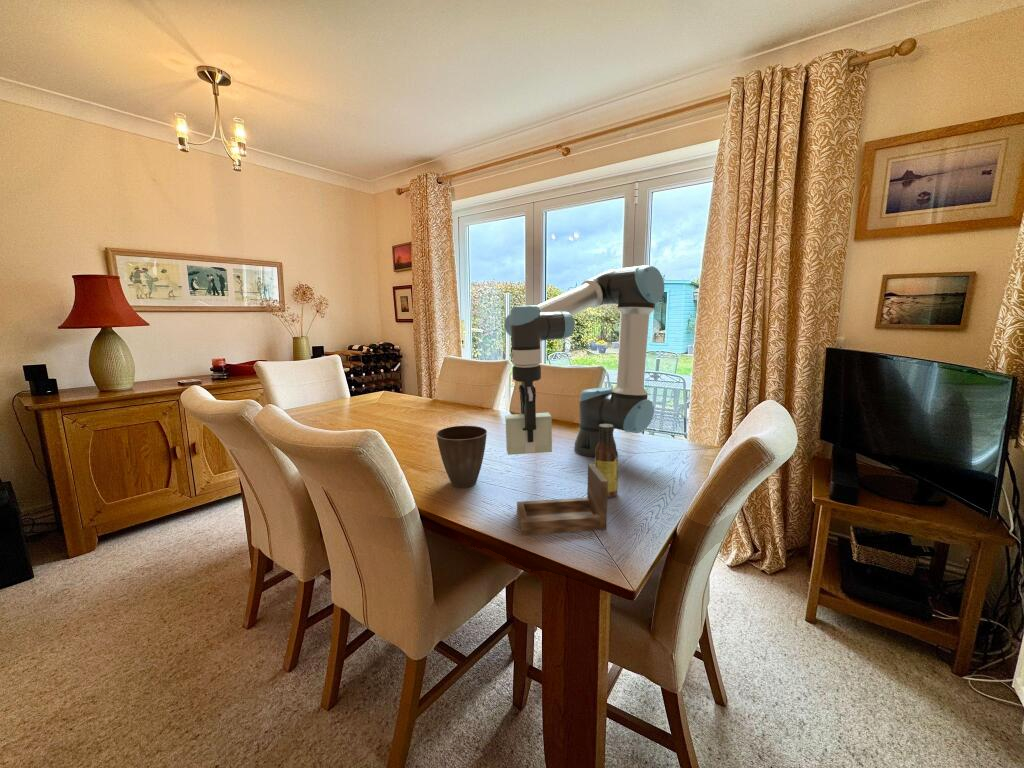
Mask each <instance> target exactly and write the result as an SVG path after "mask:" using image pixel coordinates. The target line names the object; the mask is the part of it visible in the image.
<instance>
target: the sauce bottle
mask: <svg viewBox="0 0 1024 768" xmlns="http://www.w3.org/2000/svg"><path fill="white" fill-rule="evenodd" d="M614 430H615V428H614V426H613V425H612V424H600V425H599V443H598V445H597V446H596V449H595V457H594V465H595V466H596V468H597V469H598V470H599V471H600V472H601V474H602V475H603V476H604V477H605V479H606V480H607V481H608V490H607V499H610V498H614V497H616V496H617V494H618V488H619V487H618V486H619V484H618V483H619V481H618V479H619V478H618V477H619V463H618V462H619V455H618V450H617V446H616V447H615V444H614V441H613V436H614Z"/></svg>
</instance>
